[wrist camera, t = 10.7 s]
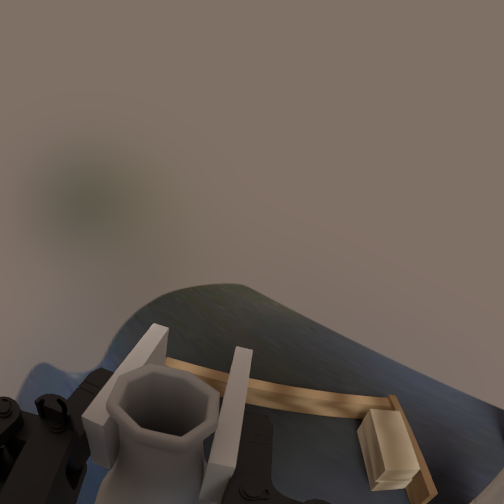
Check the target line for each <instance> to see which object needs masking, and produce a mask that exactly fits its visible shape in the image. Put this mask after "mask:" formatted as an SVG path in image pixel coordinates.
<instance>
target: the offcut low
mask: <svg viewBox="0 0 504 504" xmlns="http://www.w3.org/2000/svg"><path fill="white" fill-rule="evenodd" d="M357 433H358V437H359V441H360V445H361V449H362V454H363V458H364V462H365V466H366V471H367V475H368V479H369V484H370V488H371V491H379V490H391V489H401V488H405V487H406V486H407V485H408V484H409V483H410V482H411V481H412V478H411V479H410V480H409V481H392V482H375V479H374V474H373V469H372V463H371V458H370V454H369V449H368V444H367V439H366V435H365V430H364V426H363V422H362V424H361V425H360V427H359V428H358V430H357Z"/></svg>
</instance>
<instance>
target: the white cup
mask: <svg viewBox="0 0 504 504" xmlns="http://www.w3.org/2000/svg"><path fill="white" fill-rule="evenodd" d="M470 504H504V468H503V469H502V470H501V471H500V472H499V473H498V475H497V476H496V477H495V478H494V479H493V480H492V481H491V482H490V483H489V484H488V485H487V486H486V488H485V489H484V490H483V491H482V492H481V493H480V494H479V495H478V496H477V497H476V498H475V499H473V501H472V502H471V503H470Z"/></svg>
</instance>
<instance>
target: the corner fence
mask: <svg viewBox="0 0 504 504" xmlns="http://www.w3.org/2000/svg"><path fill="white" fill-rule="evenodd" d="M165 366H166V367H171V368H175V369H180V370H185V371H189V372H191V373H192V374H194V375H195V376H196V377H198V378H199V379H201V380H202V381H204V382H205V383H206V384H208V385H209V386H211V387H212V388H214V389H215V390H217V391H218V392H220V397H221V398H224V394H225V389H226V385H227V381H228V378H229V374H228V373H224V372H220V371H216V370H212V369H208V368H204V367H201V366H197V365H193V364H190V363H186V362H183V361H179V360H176V359H172V358H169V357H167V358H166V360H165ZM245 403H248V404H252V405H258V406H263V407H268V408H274V409H280V410H286V411H292V412H299V413H306V414H314V415H323V416H332V417H343V418H355V419H364V418H365V416H366V414H367V413H368V411H369V409H378V410H389V411H400V413H401V416H402V419H403V421H404V424H405V427H406V429H407V432H408V435H409V438H410V440H411V443H412V446H413V449H414V452H415V455H416V458H417V461H418V464H419V467H420V470H419V471H418V472H417V473H416V474H415V475H414V476H413V477H412V481H411V482H410V483H409V484H408V485H407V486H406V487H405V489H406V492H407V495H408V498H409V502H410V504H427V503H428V502H429V501H430V500H431V499H433V498H434V497H435V496H436V495H437V494H438V493H437V490H436V487H435V485H434V482H433V480H432V477H431V475H430V472H429V470H428V467H427V465H426V462H425V460H424V458H423V455H422V453H421V451H420V448H419V446H418V444H417V441H416V439H415V437H414V435H413V432H412V430H411V428H410V426H409V423H408V421H407V419H406V417H405V415H404V412H403V410H402V408H401V406H400V404H399V402H398V400H397V397H396V395H389V396H388V397H387V398H383V397H370V396H359V395H350V394H341V393H333V392H325V391H318V390H311V389H305V388H298V387H292V386H287V385H281V384H276V383H270V382H265V381H260V380H255V379H251V378H249V381H248V388H247V395H246V402H245Z"/></svg>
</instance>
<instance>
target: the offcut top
mask: <svg viewBox="0 0 504 504" xmlns="http://www.w3.org/2000/svg"><path fill="white" fill-rule="evenodd" d="M363 426H364V430H365V435H366V439H367V444H368V449H369V454H370V458H371V463H372V469H373V474H374V479H375V482H392V481H409V480H410V479H411V478H412V477H413V476H414V475H415V474H416V473H417V472H418V471H419V470H420V467H419V464H418V461H417V458H416V455H415V452H414V449H413V446H412V443H411V440H410V438H409V435H408V432H407V429H406V427H405V424H404V421H403V419H402V416H401V413H400V411H389V410H378V409H369V411H368V413H367V414H366V416H365V418H364V419H363Z"/></svg>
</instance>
